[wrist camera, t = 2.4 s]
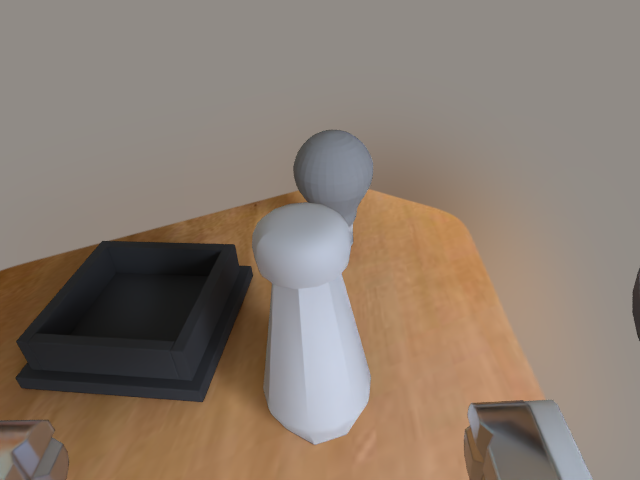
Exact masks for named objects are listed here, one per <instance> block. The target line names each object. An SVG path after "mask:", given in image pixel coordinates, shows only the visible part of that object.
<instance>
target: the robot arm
mask: <svg viewBox="0 0 640 480" xmlns="http://www.w3.org/2000/svg"><path fill="white" fill-rule="evenodd" d="M468 419H469V423H470V426H469V427H468V428H467V429H465V435H464V456H465V461H466V467H467V471H468V475H469V480H593V479H592V476H591V474H590V472H589V470H588V468H587V466H586V464H585V462H584V460H583V457H582V455H581V453H580V451H579V449H578V447H577V445H576V443H575V440H574V438H573V436H572V434H571V432H570V430H569V428H568V426H567V423H566V421H565V419H564V417H563V415H562V413H561V411H560V409H559V406H558V405H557V404H556V403H555V402H554V401H553V400H537V401H523V400H520V401H501V402H482V403H471V404H470V406H469V409H468ZM54 431H55V429H54V428H53V426H52V425H51V423H50V422H49V420H6V421H0V480H66V479H67V474H68V468H69V458H68V452H67V450H66V448H65V446H64V444H62V443H61V442H59V441H57V440H56V439H54V438H52V436H53V434H54Z"/></svg>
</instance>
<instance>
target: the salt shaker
mask: <svg viewBox="0 0 640 480" xmlns="http://www.w3.org/2000/svg"><path fill="white" fill-rule="evenodd" d="M252 248H253V253H254V257H255V260H256V263H257V266H258V269H259V272H260V273H261V275H262V276H263V277H264V278H266V279H267V280H269V281H270V282H272V290H271V303H270V315H269V327H268V339H267V351H266V363H265V375H264V387H263V390H264V393H265V397H266V401H267V404H268V408H269V410H270V412H271V414H272V415H273V416H274V417H275V418H276V419H277V420H278V421H279V422H280V423H281V424H282V425H283V426H284V427H285V428H286V429H288V430H289V431H291V432H293V433H295V434H296V435H298V436H300V437H302V438H303V439H305V440H307V441H309V442H311V443H312V444H314V445H316V444H319V443H322V442H325V441H328V440H331V439H334V438H337V437H340V436H343V435H346V434H347V433H348V431H349V430H350V428H351V427H352V425H353V424H354V422H355V421H356V419H357V418H358V416H359V415H360V414H361V412H362V411H363V409H364V408H365V406H366V405H367V403H368V399H369V392H370V381H371V375H370V372H369V368H368V365H367V361H366V358H365V354H364V351H363V347H362V344H361V340H360V337H359V333H358V330H357V326H356V323H355V319H354V316H353V312H352V309H351V305H350V302H349V298H348V295H347V291H346V288H345V284H344V281H343V277H342V274H341V273H342V272H343V271H344V270H345V268H346V267H347V264H348V262H349V256H350V250H351V234H350V231H349V227H348V224H347V223H346V221H345V220H344V218H343V217H342V216H341V214H339V213H337V212H336V211H334V210H332V209H330V208H328V207H326V206H324V205H322V204H315V203H307V202H305V203H294V204H288V205H285V206H282V207H279V208H277V209H274V210H273V211H271V212H270V213H268V214H267V215H266V216H264V217H263V218H262V219H261V220H260V221H259V222H258V223H257V225H256V228H255V230H254V232H253V238H252Z"/></svg>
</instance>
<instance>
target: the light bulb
mask: <svg viewBox="0 0 640 480" xmlns="http://www.w3.org/2000/svg"><path fill="white" fill-rule="evenodd" d="M372 176H373V162H372V159H371V156H370V154H369V152H368V150H367V148H366V147H365V145H364V144H363V143H362V142H361V141H360V140H359V139H358V138H356V137H355V136H353V135H352V134H350V133H348V132H345V131H341V130H326V131H322V132H320V133H317V134H315V135H313V136H312V137H310V138H309V139H308V140H307V141H306V142H305V143H304V144H303V146H302V147H301V148H300V150H299V151H298V154H297V156H296V159H295V162H294V178H295V181H296V185H297V187H298V189H299V191H300V193H301V194H302V195H303V197H304V198H305V199H306V201H307V202H308V203H315V204H322V205H324V206H326V207H328V208H330V209H332V210H334V211H336V212H337V213H339V214H341V216H342V217H343V218H344V220H345V221H346V223H347V224H348V227H349V231H350V234H351V245H352V244H353V231H352V230H353V222H354V220H355V217H356V213H357V207H358V205H359V203H360V202H361V200H362V198H363V197H364V195H365V194H366V192H367V190H368V189H369V186H370V184H371V181H372Z"/></svg>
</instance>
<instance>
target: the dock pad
mask: <svg viewBox="0 0 640 480" xmlns="http://www.w3.org/2000/svg"><path fill="white" fill-rule="evenodd" d="M252 277H253V273H252V268H251V266H239V264H238V258H237V253H236V248H235V245H234V244H225V245H224V244H200V243H162V242H124V241H112V242H111V241H102V242H101V243H100V244H99V245H98V247H97V248H96V249H95V250H94V251H93V252H92V254H91V255H90V256H89V257H88V258H87V259H86V261H85V262H84V263H83V264H82V265H81V266H80V268H79V269H78V270H77V271H76V272H75V273H74V275H73V276H72V277H71V278H70V279H69V280H68V282H67V283H66V284H65V285H64V286H63V287H62V289H61V290H60V291H59V292H58V293H57V294H56V296H55V297H54V298H53V299H52V300H51V301H50V303H49V304H48V305H47V306H46V307H45V308H44V310H43V311H42V312H41V313H40V314H39V315H38V317H37V318H36V319H35V320H34V321H33V322H32V323H31V325H30V326H29V327H28V328H27V329H26V330H25V332H24V333H23V334H22V335H21V336H20V337H19V339H18V340H17V341H16V342H17V344H18V346H19V348H20V349H21V351H22V353H23V355H24V356H25V358H26V360H27V362H28V363H27V364H26V365H25V366H24V368H23V369H22V370H21V371H20V373H19V374H18V375H17V376H16V380H17V382H18V383H19V385H20V386H21V388H27V389H40V390H53V391H66V392H79V393H92V394H105V395H118V396H131V397H144V398H157V399H170V400H183V401H196V402H203V400H204V398H205V395H206V393H207V390H208V388H209V385H210V383H211V380H212V378H213V375H214V373H215V370H216V367H217V365H218V362H219V360H220V357H221V355H222V352H223V350H224V347H225V345H226V342H227V340H228V337H229V335H230V332H231V330H232V327H233V325H234V322H235V320H236V317H237V315H238V312H239V309H240V307H241V304H242V302H243V299H244V297H245V294H246V292H247V289H248V287H249V284H250V282H251V279H252Z"/></svg>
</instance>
